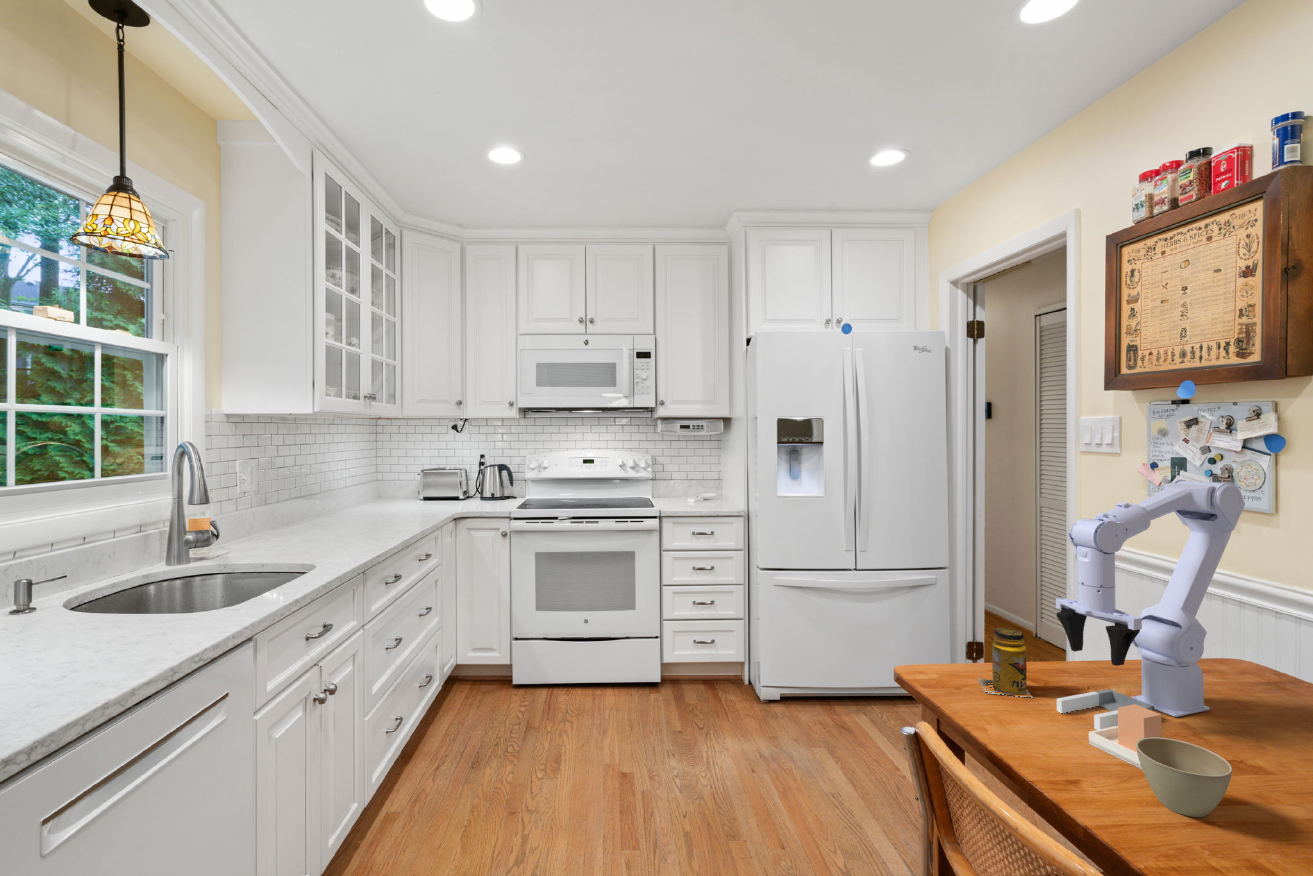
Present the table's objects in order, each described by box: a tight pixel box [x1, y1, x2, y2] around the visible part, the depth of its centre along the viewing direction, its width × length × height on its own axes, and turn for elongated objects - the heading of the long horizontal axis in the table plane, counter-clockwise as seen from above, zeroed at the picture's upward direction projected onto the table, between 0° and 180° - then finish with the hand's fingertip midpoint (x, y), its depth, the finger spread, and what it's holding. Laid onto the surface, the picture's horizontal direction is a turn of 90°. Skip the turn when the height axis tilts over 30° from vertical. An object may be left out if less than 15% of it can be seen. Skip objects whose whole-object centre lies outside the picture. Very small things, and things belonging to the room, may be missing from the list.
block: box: [1118, 704, 1163, 752], centre depth 97 cm, size 4×4×6 cm
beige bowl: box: [1136, 737, 1233, 818], centre depth 83 cm, size 10×10×7 cm
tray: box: [1088, 726, 1142, 770], centre depth 97 cm, size 9×9×2 cm
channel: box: [1056, 691, 1118, 730], centre depth 109 cm, size 10×8×2 cm
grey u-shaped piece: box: [1094, 688, 1155, 712], centre depth 111 cm, size 4×8×2 cm, turn 17°
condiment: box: [977, 627, 1034, 699], centre depth 122 cm, size 7×8×12 cm
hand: (1096, 657), depth 111 cm, fingers open, 7 cm apart
